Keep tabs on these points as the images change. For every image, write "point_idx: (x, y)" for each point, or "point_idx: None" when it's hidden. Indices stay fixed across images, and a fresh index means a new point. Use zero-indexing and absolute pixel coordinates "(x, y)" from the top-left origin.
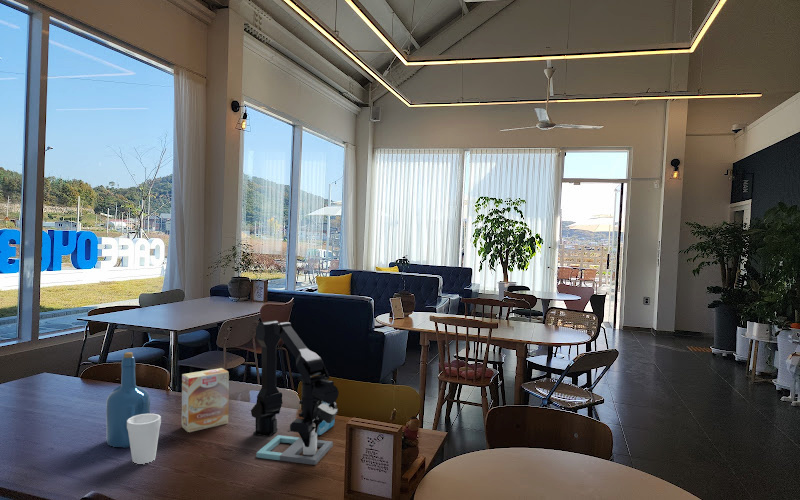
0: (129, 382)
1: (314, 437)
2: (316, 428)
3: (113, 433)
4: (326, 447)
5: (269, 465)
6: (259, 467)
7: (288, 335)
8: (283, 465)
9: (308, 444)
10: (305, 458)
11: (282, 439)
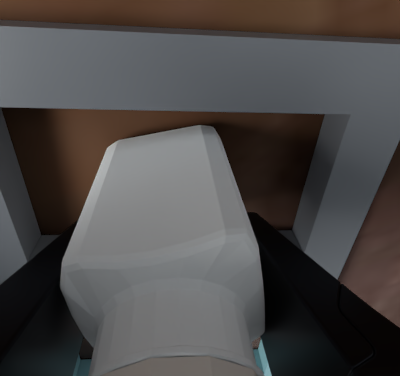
0: None
1: (246, 240)
2: (11, 354)
3: None
4: (77, 42)
5: (373, 298)
6: (391, 320)
7: None
8: (381, 247)
9: (272, 230)
10: (384, 157)
11: (74, 372)
